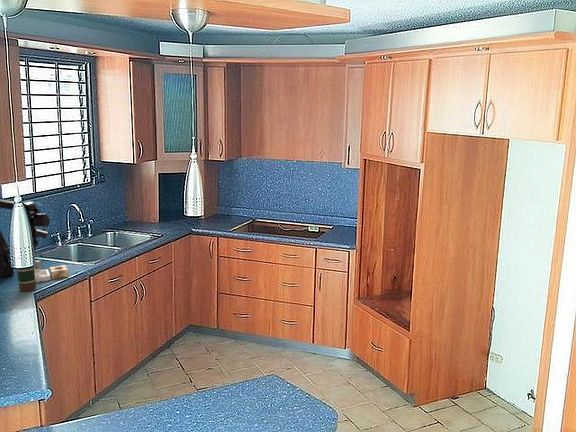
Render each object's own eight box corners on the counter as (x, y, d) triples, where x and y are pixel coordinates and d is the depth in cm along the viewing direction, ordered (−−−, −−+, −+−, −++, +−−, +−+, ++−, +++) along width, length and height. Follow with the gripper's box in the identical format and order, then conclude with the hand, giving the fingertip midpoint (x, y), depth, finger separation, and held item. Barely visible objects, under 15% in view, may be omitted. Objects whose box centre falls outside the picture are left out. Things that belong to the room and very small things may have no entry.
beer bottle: (35, 286, 292) (30, 240, 288) (37, 290, 286) (31, 243, 281) (18, 288, 289) (13, 242, 284) (20, 293, 282) (14, 245, 277)
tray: (27, 283, 297) (27, 279, 296) (26, 276, 309) (25, 272, 309) (50, 280, 302) (50, 275, 301) (48, 273, 314) (47, 269, 314)
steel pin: (33, 279, 303) (31, 262, 301) (33, 277, 307) (31, 260, 305) (43, 277, 305) (41, 261, 303) (42, 275, 308) (40, 259, 307)
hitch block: (52, 278, 304) (51, 271, 303) (50, 274, 313) (49, 267, 312) (68, 276, 307) (67, 269, 307) (66, 272, 316) (65, 265, 316)
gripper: (47, 227, 299) (49, 256, 302) (44, 221, 315) (47, 249, 318) (23, 230, 294) (26, 259, 297) (22, 223, 310) (25, 251, 313)
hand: (32, 254), depth 306 cm, fingers open, 9 cm apart
